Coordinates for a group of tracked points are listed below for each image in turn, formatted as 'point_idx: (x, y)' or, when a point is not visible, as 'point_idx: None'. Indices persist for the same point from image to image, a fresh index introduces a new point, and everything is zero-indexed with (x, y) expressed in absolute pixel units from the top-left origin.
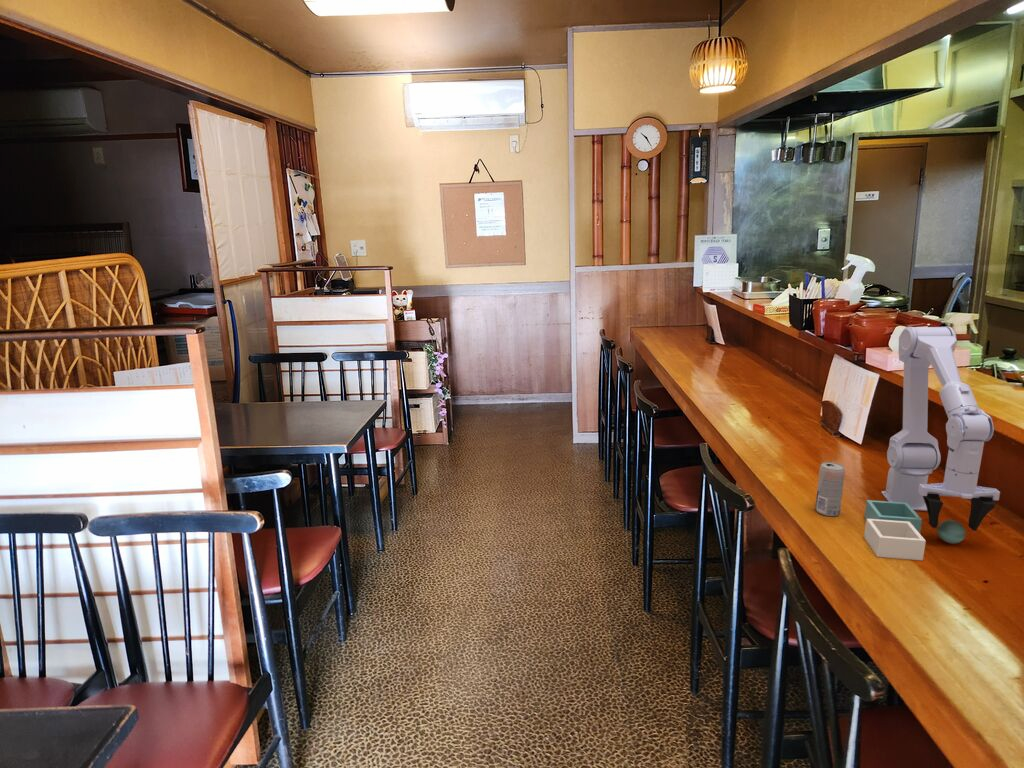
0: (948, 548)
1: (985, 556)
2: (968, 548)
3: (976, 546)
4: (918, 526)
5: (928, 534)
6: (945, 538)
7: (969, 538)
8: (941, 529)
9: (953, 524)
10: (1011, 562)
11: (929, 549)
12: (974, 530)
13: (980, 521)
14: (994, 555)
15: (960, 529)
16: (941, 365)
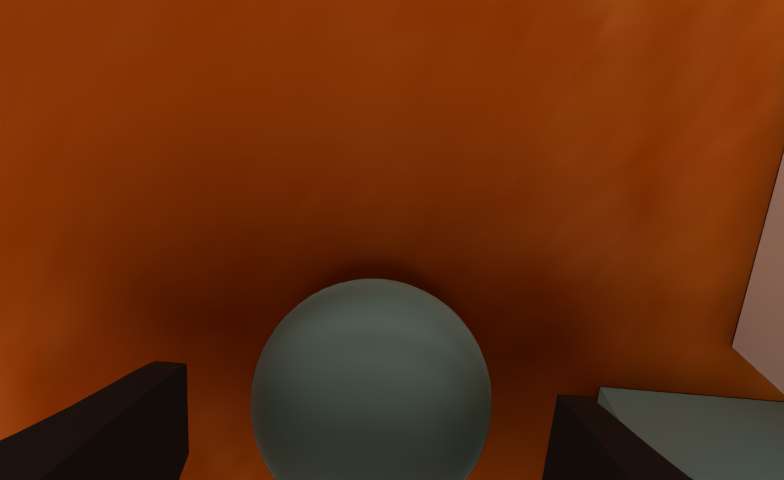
0: (446, 233)
1: (192, 114)
2: (272, 248)
3: (189, 288)
4: None
5: (483, 453)
6: (456, 314)
7: None
8: (489, 393)
9: (387, 415)
10: (10, 21)
11: (627, 200)
12: (171, 362)
13: (71, 409)
14: (106, 141)
15: (330, 350)
16: None
